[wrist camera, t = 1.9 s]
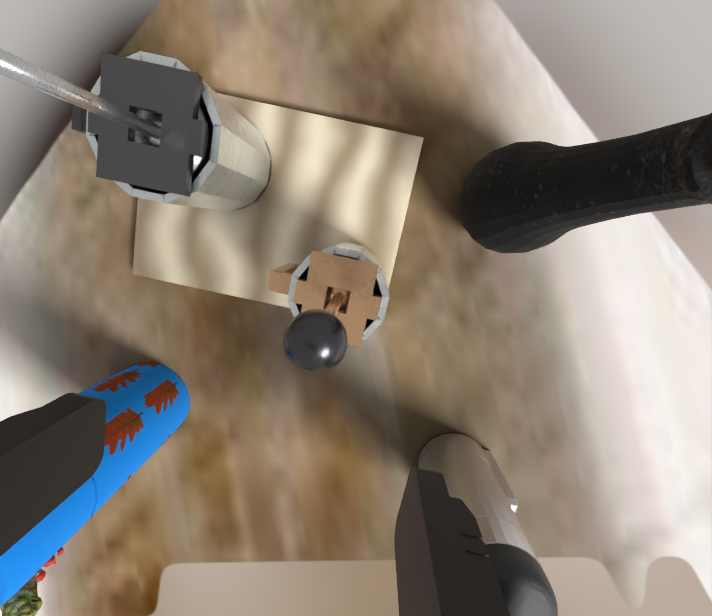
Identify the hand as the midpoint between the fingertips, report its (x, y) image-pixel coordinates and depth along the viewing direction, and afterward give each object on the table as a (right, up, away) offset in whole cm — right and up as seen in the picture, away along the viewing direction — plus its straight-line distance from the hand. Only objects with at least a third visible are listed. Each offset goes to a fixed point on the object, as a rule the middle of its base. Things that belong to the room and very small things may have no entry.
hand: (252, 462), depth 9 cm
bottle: (+19, +16, +32) cm, 41 cm away
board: (-7, +16, +34) cm, 38 cm away
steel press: (-13, +21, +31) cm, 40 cm away
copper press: (+1, +8, +33) cm, 34 cm away
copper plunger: (+1, +5, +23) cm, 23 cm away
